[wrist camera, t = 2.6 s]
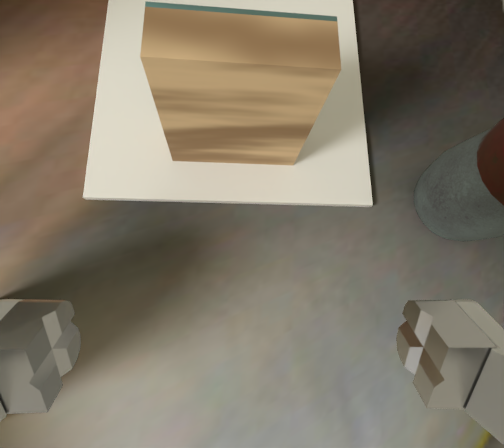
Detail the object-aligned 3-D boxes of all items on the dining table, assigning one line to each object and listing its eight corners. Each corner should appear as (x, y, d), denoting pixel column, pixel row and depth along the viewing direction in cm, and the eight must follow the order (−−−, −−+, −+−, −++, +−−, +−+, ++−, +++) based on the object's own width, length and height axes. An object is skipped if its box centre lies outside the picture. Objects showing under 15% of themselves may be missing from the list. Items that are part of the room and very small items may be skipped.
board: (370, 206, 34) (372, 205, 34) (85, 199, 32) (82, 197, 31) (350, 3, 41) (352, -2, 40) (113, -17, 38) (111, -22, 38)
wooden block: (293, 165, 34) (341, 69, 21) (172, 161, 33) (140, 56, 19) (291, 130, 35) (337, 16, 22) (174, 124, 34) (145, 1, 20)
